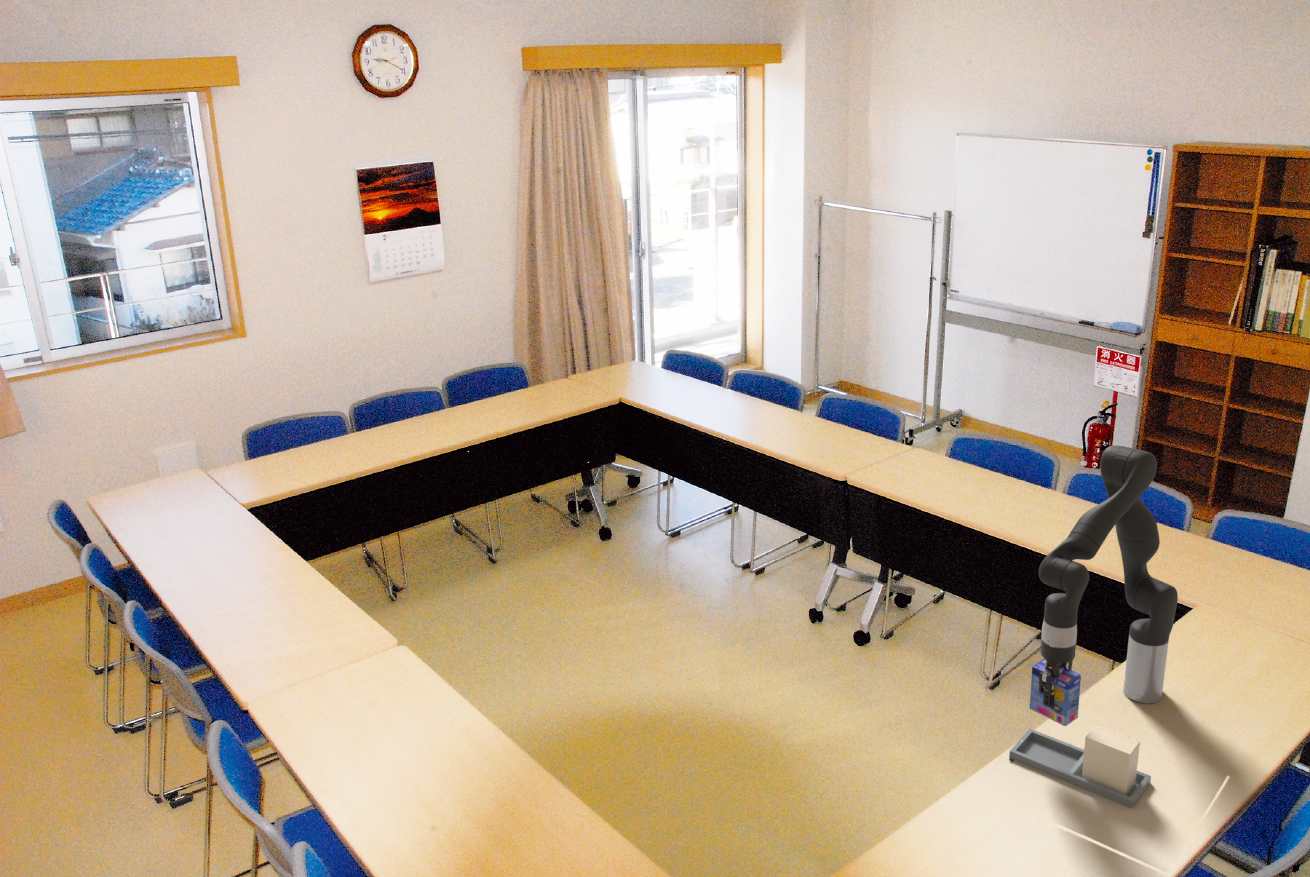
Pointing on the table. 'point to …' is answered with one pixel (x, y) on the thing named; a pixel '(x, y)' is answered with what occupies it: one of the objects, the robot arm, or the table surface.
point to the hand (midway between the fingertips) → (1054, 699)
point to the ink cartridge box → (1057, 695)
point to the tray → (1069, 765)
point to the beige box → (1110, 759)
